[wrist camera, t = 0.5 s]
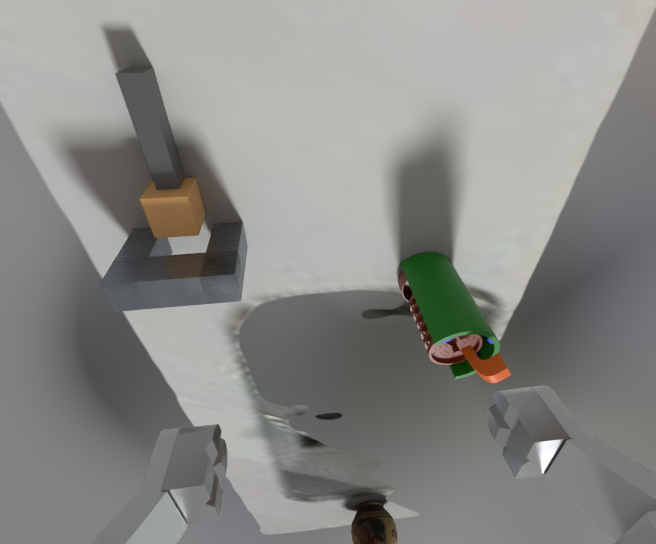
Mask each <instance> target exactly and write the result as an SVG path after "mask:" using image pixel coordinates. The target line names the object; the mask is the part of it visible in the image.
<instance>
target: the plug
mask: <svg viewBox="0 0 656 544" xmlns="http://www.w3.org/2000/svg"><path fill="white" fill-rule="evenodd" d="M115 74H116V77H117V80H118V82H119V85H120V88H121V91H122V94H123V97H124V99H125V102H126V105H127V108H128V111H129V114H130V116H131V119H132V122H133V125H134V128H135V131H136V133H137V136H138V139H139V142H140V145H141V148H142V150H143V153H144V156H145V159H146V162H147V165H148V167H149V170H150V173H151V176H152V179H153V180H152V182H151V183H150V184H149V186H148V187H147V189H146V190H145V192H144V193H143V195H142V196H141V198H140V202H141V204H142V207H143V210H144V212H145V215H146V217H147V220H148V222H149V225H150V227H151V230H152V232H153V235H154V237H155V238H164V237H179V236H194V235H199V232H200V229H201V226H202V223H203V220H204V217H205V210H204V206H203V203H202V199H201V195H200V191H199V188H198V184H197V180H196V177H195V178H185V176H184V173H183V169H182V166H181V162H180V159H179V155H178V152H177V148H176V145H175V141H174V138H173V135H172V131H171V128H170V124H169V121H168V117H167V114H166V110H165V107H164V103H163V100H162V96H161V93H160V90H159V86H158V83H157V79H156V76H155V72H154V69H153V67H144V68H126V69H124V70H122V71H119V72H117V73H115Z"/></svg>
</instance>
